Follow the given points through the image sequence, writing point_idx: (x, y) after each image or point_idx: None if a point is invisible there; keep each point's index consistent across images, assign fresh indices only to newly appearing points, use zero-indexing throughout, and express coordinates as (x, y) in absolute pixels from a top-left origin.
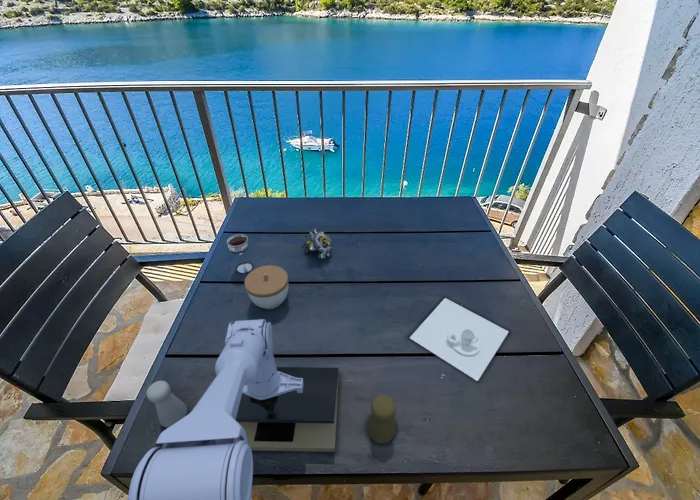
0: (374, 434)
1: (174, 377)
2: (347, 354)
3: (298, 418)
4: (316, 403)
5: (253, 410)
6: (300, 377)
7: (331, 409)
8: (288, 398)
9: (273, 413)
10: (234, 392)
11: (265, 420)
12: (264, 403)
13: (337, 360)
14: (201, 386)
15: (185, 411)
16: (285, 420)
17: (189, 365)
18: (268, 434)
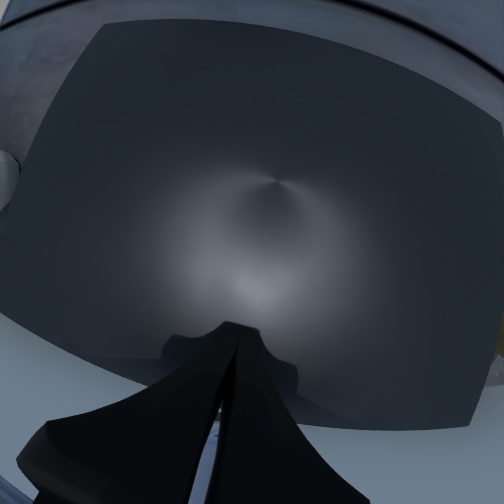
0: (495, 348)
1: (3, 73)
2: (500, 74)
3: (364, 424)
4: (449, 332)
5: (141, 326)
6: (387, 115)
7: (481, 371)
8: (333, 268)
9: None
10: None
11: None
12: (189, 498)
13: (477, 77)
14: (40, 88)
15: (2, 181)
16: (304, 423)
17: (25, 38)
18: None
